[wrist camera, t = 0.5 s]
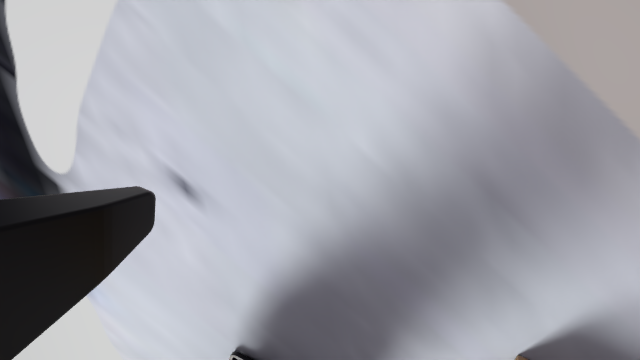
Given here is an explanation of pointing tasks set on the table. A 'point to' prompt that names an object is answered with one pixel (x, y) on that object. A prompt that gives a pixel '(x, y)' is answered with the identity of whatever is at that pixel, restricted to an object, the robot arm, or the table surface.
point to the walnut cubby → (520, 358)
